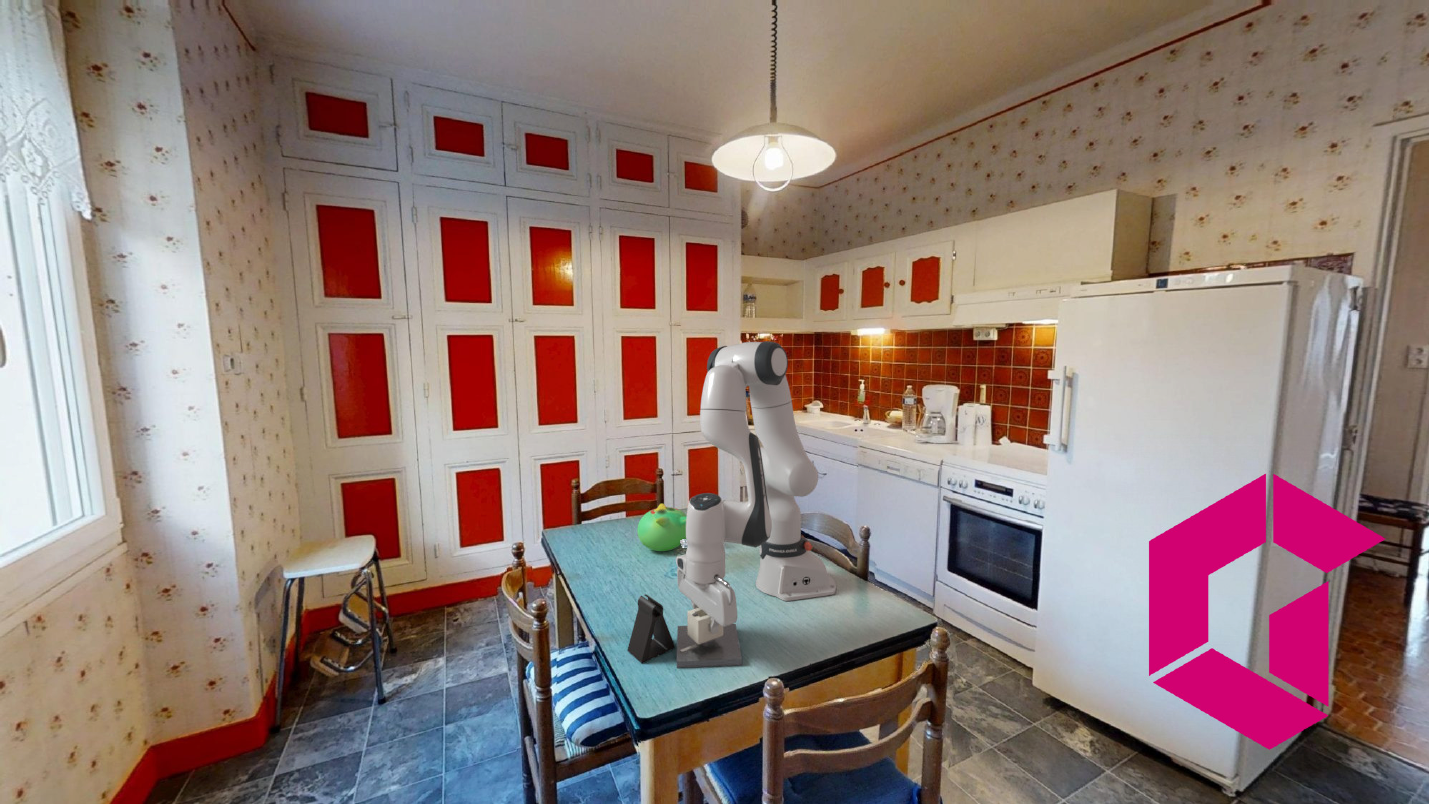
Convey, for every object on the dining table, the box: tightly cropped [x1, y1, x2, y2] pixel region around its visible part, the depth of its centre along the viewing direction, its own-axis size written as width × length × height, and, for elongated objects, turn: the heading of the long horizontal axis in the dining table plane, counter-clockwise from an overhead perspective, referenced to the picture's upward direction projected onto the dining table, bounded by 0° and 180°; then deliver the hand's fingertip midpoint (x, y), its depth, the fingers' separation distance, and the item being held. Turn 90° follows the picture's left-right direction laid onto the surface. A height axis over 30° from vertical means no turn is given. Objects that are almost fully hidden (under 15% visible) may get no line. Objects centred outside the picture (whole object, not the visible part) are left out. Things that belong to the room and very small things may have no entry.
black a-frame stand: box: [626, 593, 676, 664], centre depth 117 cm, size 9×6×12 cm, turn 129°
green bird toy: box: [637, 503, 687, 552], centre depth 174 cm, size 18×17×15 cm
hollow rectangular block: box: [686, 608, 723, 644], centre depth 117 cm, size 7×5×6 cm
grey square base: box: [676, 623, 743, 669], centre depth 118 cm, size 14×14×6 cm
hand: (706, 625), depth 117 cm, fingers closed on hollow rectangular block, 5 cm apart
